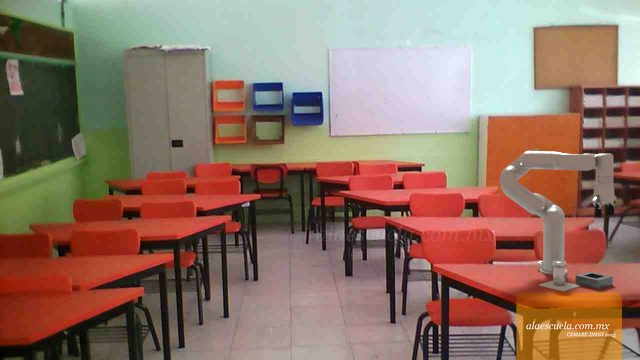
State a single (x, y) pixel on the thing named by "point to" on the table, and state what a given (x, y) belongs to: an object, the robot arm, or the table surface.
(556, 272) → the end cover
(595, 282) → the bore housing
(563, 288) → the sage mat
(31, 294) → the table surface
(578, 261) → the table surface
